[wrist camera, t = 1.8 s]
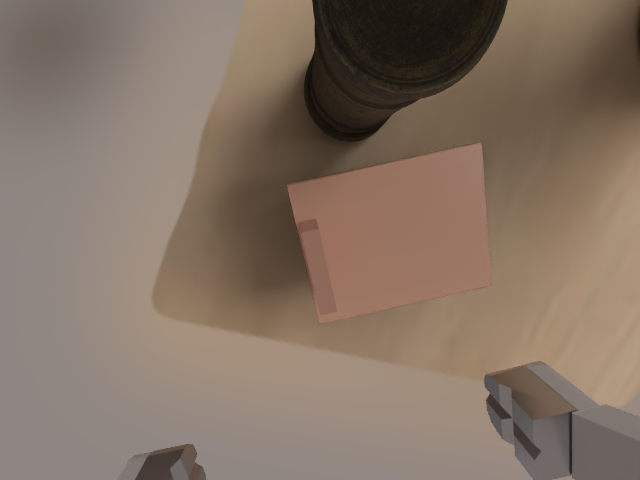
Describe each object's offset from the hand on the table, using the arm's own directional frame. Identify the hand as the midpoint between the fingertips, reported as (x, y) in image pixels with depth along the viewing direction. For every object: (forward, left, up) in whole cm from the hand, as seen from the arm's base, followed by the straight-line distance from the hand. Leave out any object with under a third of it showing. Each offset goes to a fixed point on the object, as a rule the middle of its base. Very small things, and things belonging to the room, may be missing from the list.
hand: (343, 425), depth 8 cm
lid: (-7, 0, -18) cm, 20 cm away
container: (-7, -13, -26) cm, 29 cm away
